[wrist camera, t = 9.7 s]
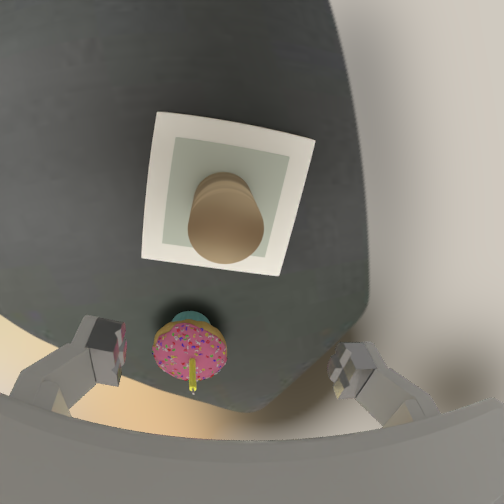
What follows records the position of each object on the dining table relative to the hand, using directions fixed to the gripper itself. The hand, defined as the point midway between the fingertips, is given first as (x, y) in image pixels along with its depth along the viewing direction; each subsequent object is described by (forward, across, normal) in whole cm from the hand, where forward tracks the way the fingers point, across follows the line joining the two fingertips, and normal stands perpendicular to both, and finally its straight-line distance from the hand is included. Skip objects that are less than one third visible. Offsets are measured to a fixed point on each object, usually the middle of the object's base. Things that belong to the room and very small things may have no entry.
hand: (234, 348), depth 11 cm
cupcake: (+21, +1, +17) cm, 27 cm away
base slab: (+21, 0, 0) cm, 21 cm away
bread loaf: (+18, 0, 0) cm, 18 cm away
